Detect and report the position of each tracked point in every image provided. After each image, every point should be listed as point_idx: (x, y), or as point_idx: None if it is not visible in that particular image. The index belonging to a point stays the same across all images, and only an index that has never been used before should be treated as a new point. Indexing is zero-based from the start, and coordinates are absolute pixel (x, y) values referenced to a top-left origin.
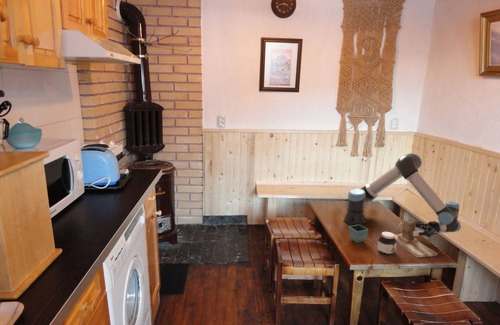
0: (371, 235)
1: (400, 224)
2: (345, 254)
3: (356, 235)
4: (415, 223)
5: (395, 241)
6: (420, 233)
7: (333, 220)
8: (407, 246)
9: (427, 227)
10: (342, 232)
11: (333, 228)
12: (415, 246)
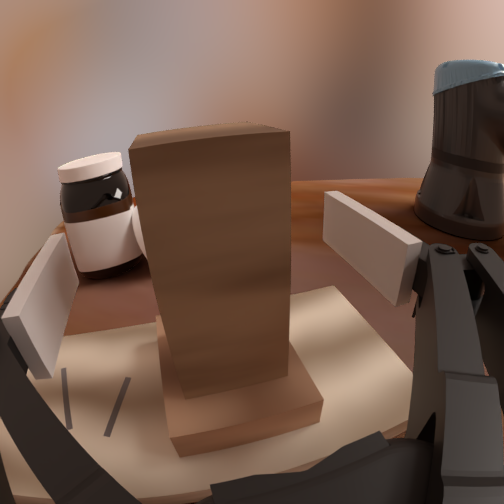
0: (320, 243)
1: (325, 208)
2: (134, 197)
3: None
4: (131, 164)
5: (62, 209)
6: (13, 292)
7: (418, 189)
8: (109, 340)
9: (99, 491)
10: (314, 193)
11: (341, 184)
12: (94, 396)
